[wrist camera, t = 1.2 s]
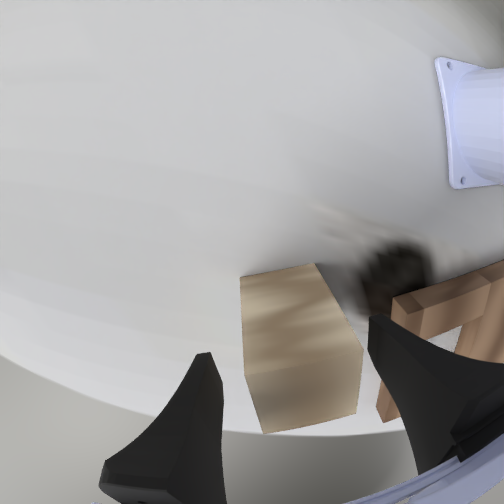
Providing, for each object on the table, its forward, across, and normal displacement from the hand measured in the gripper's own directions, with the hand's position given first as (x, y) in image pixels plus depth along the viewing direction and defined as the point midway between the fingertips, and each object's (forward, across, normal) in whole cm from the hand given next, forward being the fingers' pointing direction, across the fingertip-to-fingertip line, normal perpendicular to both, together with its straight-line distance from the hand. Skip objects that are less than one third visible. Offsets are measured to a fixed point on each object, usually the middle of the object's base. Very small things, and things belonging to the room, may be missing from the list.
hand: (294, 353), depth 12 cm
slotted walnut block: (+4, -16, +8) cm, 18 cm away
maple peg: (+4, 0, 0) cm, 4 cm away
